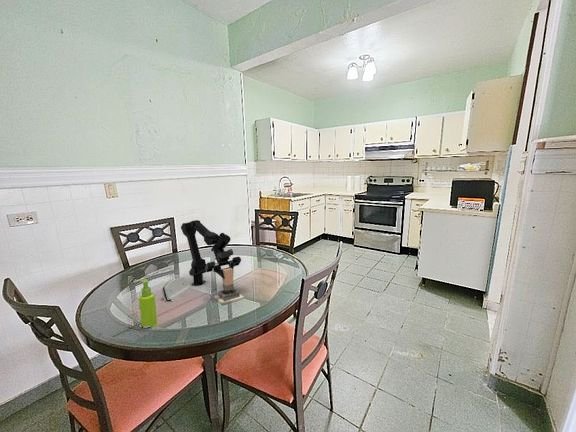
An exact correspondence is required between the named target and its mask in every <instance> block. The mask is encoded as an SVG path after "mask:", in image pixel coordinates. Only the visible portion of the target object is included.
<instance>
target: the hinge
mask: <svg viewBox="0 0 576 432" xmlns="http://www.w3.org/2000/svg"><path fill="white" fill-rule="evenodd" d="M160 290H161V294H162V298H163V301H164V302H167V301H169V300H170V301H171V302H174V301H176V300H177V299H179V298H180V297H182V296H185V294H187V293H188V292H191V290H192V289H191V286H190V285H188V283H187V281H186V279H185V277H176V278H174V279H171V280H169V281H168V282H166V283H165V284H164V285H163V286H162V287H161V289H160Z"/></svg>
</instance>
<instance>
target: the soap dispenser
mask: <svg viewBox="0 0 576 432" xmlns="http://www.w3.org/2000/svg"><path fill="white" fill-rule="evenodd" d="M138 282H140V283H142V285H143V286H142V288H141V295H139V297H138V301H139V302H138V305H139V312H140V322H141V323H140V325H141V327H142V326H153V327H155V326H157V324H158V318H157V309H156V297H155V293H152V291H151V289H152V288H151V286H149V283H150V280H148V279H145V278H144V279H141V280H138ZM154 325H155V326H154Z"/></svg>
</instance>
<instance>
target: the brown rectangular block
mask: <svg viewBox="0 0 576 432" xmlns="http://www.w3.org/2000/svg"><path fill="white" fill-rule="evenodd" d="M221 269H222V272H223V274H224V277H225V279H223V278H222V277H221V278H222V279H221V281H222V290H225V291H229V290H233V289H235V286H234V268H233V269H232V268H230V267H229V266H228V267H224V268H221Z"/></svg>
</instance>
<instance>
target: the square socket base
mask: <svg viewBox="0 0 576 432" xmlns="http://www.w3.org/2000/svg"><path fill="white" fill-rule="evenodd" d="M217 293H218V294H216V295H214V296H213V298H214V299H215V300H216V301H217V302H218V303H219V304H220V305H221V306H225V305H228V304H231V303H234V302H235V303H236V302H238V301H241V300H244V299H245V296H244V295H242V294H241V293H240V291H238V290H237V289H235V288H234V289H233V290H229V291H225V290H224V289H222V290H220V291H217Z"/></svg>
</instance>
